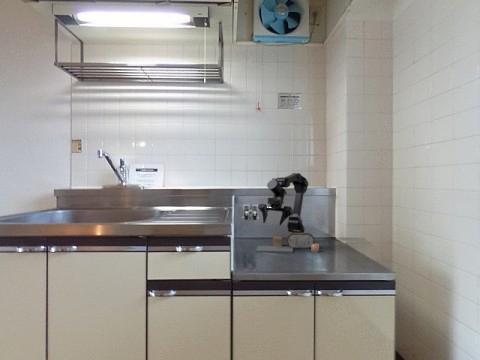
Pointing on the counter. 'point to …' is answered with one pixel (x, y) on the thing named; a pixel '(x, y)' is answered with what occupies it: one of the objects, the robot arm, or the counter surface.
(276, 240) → the walnut block
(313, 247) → the small orange block
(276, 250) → the mat
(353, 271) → the counter surface
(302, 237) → the tin
